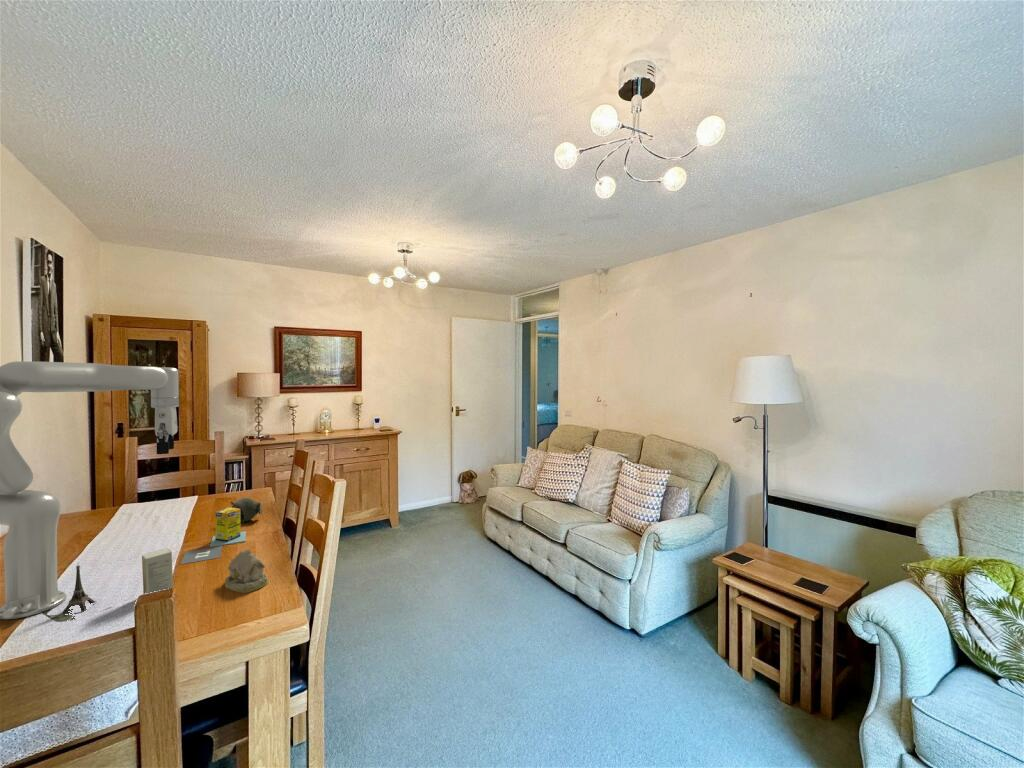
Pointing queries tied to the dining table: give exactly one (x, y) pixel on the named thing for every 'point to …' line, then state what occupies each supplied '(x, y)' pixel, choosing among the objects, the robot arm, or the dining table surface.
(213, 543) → the rubber mat
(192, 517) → the dining table surface
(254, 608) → the dining table surface
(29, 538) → the robot arm
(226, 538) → the supplement box
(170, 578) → the skincare box
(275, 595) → the dining table surface
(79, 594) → the eiffel tower figurine
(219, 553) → the card
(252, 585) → the ceramic model
